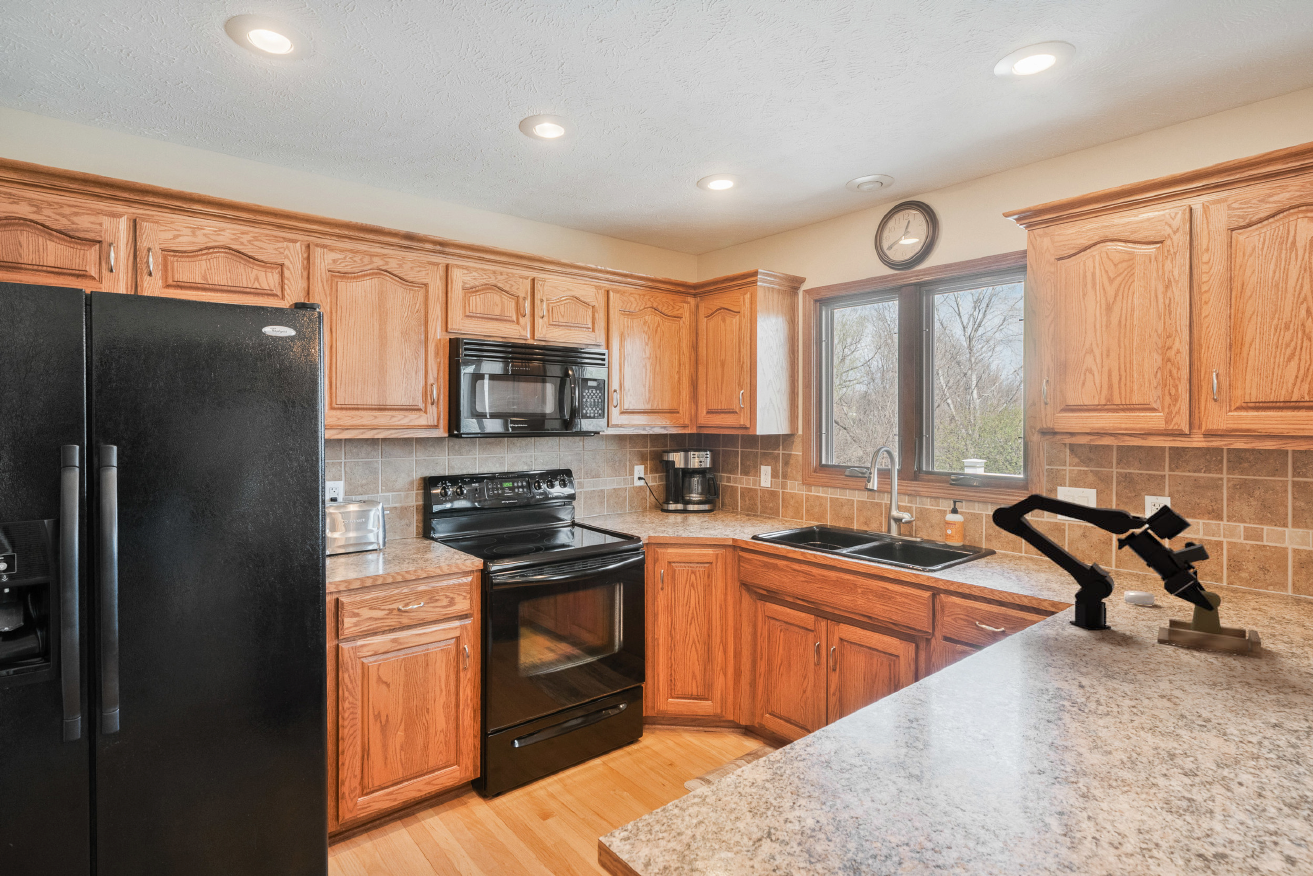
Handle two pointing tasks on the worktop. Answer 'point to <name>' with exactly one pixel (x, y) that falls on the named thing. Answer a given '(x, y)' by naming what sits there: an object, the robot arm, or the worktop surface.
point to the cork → (1207, 616)
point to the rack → (1212, 639)
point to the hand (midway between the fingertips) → (1212, 606)
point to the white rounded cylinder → (1139, 597)
